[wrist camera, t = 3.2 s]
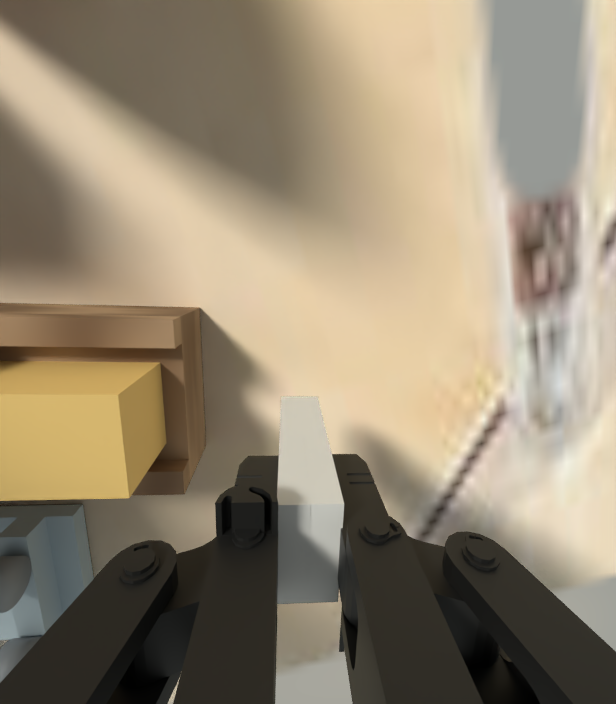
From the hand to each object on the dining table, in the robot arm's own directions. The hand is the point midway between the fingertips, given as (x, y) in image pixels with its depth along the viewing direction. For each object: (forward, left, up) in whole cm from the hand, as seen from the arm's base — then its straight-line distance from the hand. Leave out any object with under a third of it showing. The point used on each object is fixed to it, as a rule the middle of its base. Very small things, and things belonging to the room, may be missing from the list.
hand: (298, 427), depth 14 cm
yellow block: (-10, 0, -2) cm, 10 cm away
